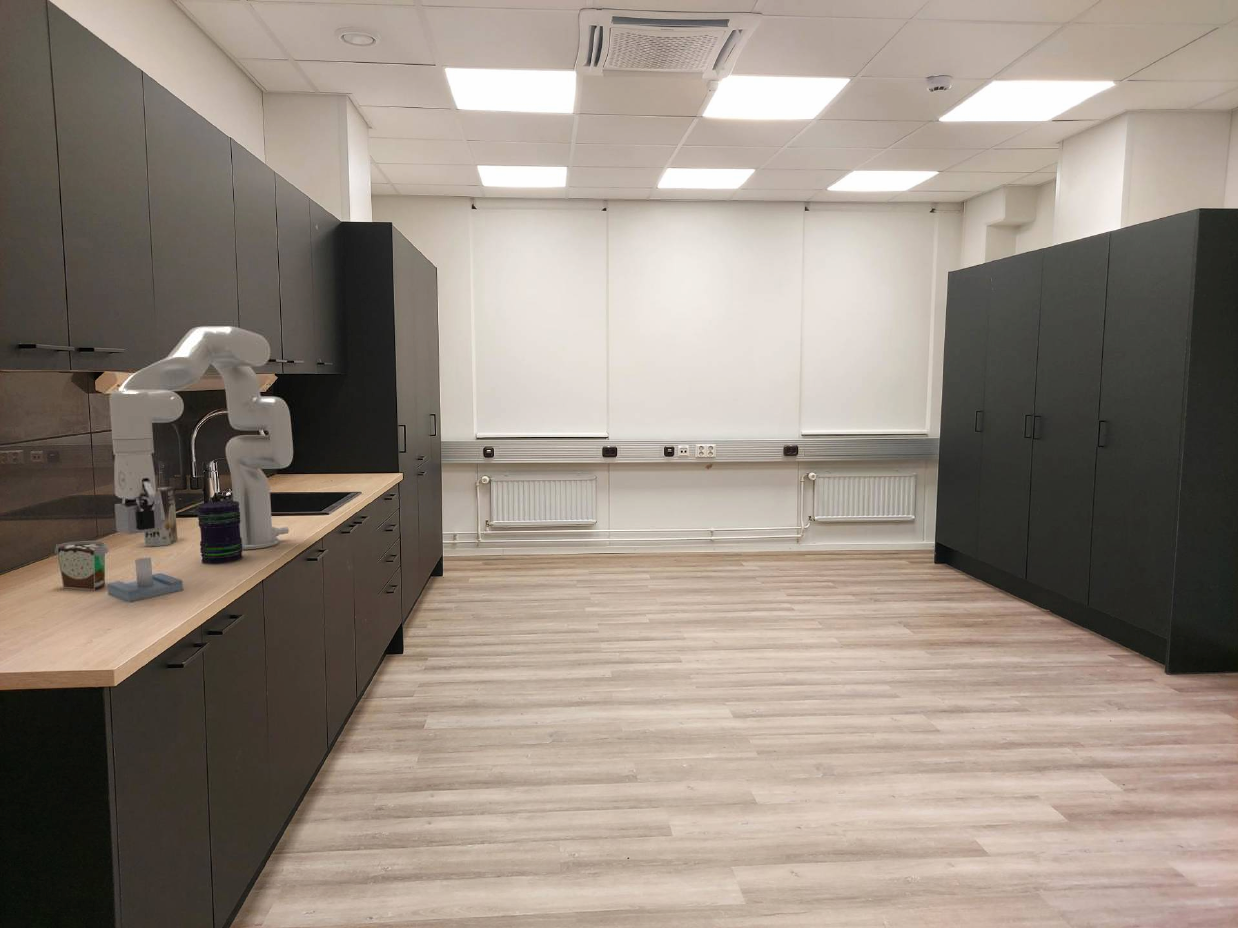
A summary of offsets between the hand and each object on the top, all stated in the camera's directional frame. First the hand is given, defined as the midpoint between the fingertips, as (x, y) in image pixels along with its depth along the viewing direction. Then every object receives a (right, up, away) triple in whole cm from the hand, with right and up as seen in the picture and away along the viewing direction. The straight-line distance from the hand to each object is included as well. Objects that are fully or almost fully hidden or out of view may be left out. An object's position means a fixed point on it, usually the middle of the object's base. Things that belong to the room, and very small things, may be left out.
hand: (139, 526), depth 167 cm
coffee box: (-27, -9, +53) cm, 60 cm away
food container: (-16, -15, +8) cm, 23 cm away
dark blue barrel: (+2, -12, +32) cm, 34 cm away
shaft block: (0, -15, +2) cm, 15 cm away
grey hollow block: (0, -1, 0) cm, 1 cm away
